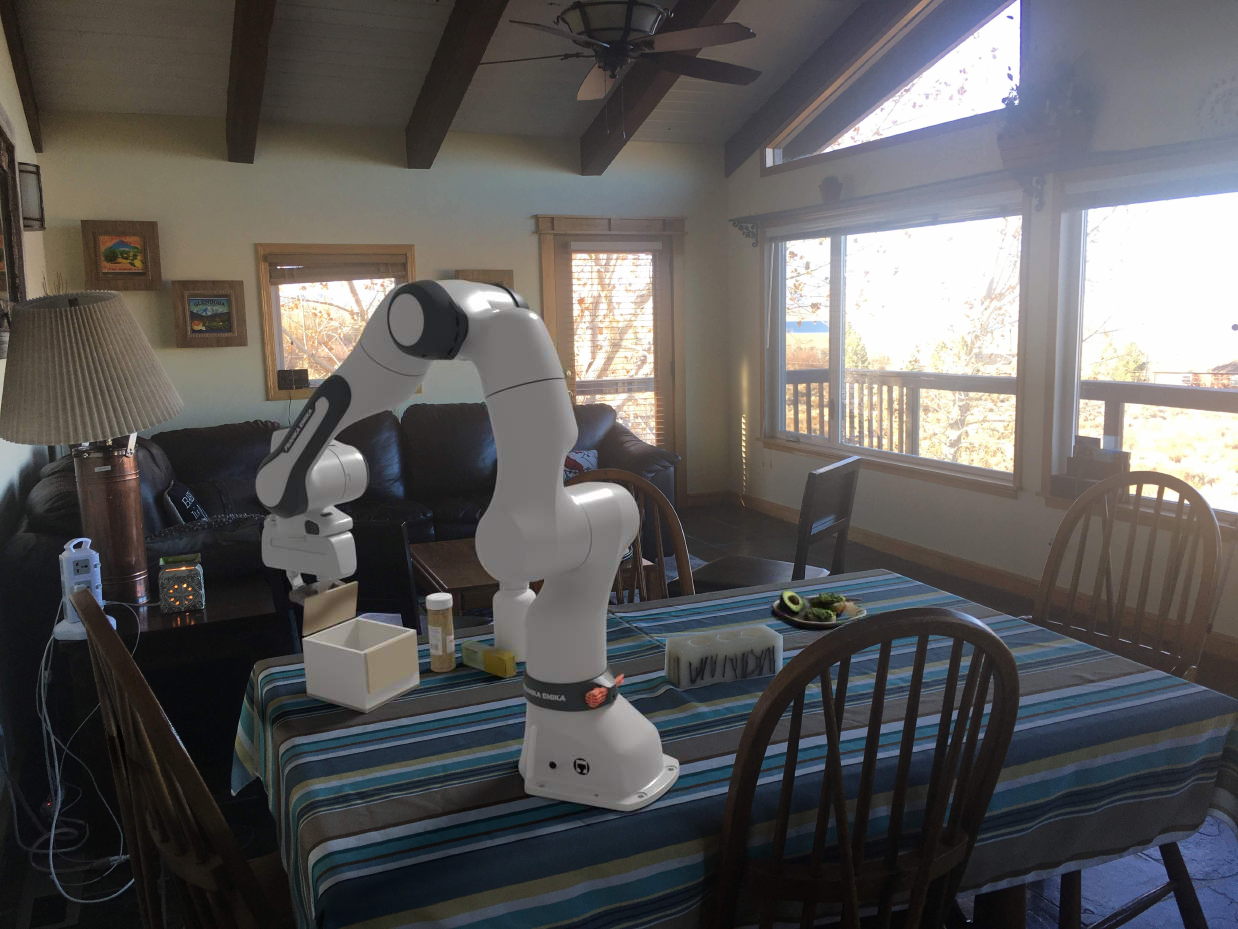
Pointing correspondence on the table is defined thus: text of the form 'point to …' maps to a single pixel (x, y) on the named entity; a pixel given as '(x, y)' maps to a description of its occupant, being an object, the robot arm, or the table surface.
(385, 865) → the table surface
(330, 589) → the flap
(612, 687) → the robot arm
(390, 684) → the carton
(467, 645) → the medication box
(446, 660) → the sprinkles bottle
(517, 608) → the pill bottle
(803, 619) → the salad plate
